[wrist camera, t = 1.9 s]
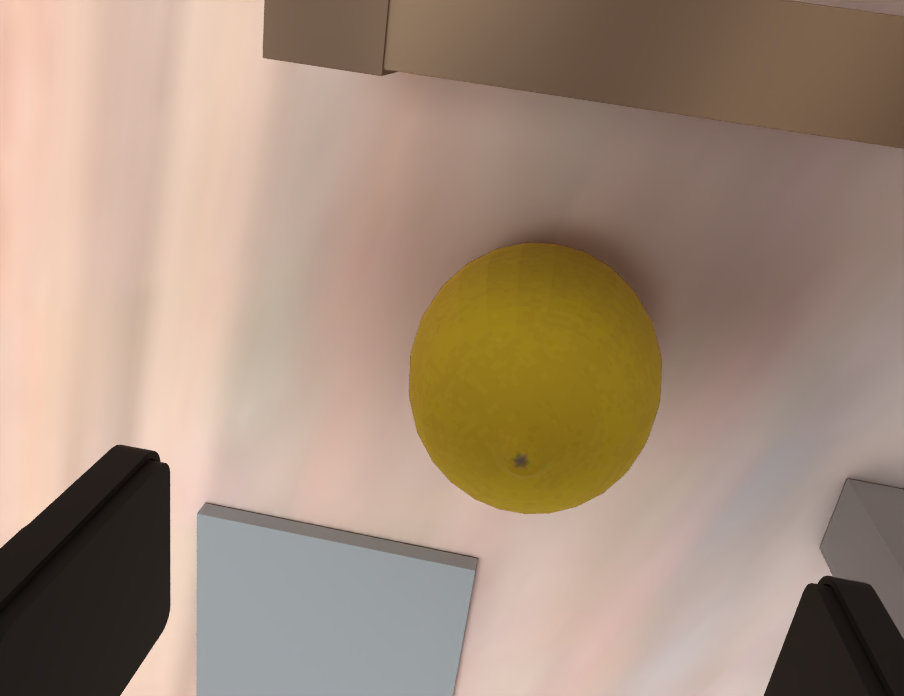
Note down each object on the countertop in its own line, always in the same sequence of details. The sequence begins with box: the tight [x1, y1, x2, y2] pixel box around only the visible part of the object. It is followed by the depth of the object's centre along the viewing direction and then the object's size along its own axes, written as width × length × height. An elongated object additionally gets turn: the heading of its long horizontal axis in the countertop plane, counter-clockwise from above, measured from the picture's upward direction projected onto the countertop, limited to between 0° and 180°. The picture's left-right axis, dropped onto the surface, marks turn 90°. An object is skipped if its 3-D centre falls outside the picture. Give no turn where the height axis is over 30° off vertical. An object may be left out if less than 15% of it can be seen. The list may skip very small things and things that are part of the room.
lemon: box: [409, 243, 662, 514], centre depth 17 cm, size 6×6×8 cm
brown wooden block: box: [263, 0, 904, 148], centre depth 15 cm, size 12×2×6 cm, turn 82°
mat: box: [197, 503, 478, 696], centre depth 26 cm, size 9×8×1 cm
